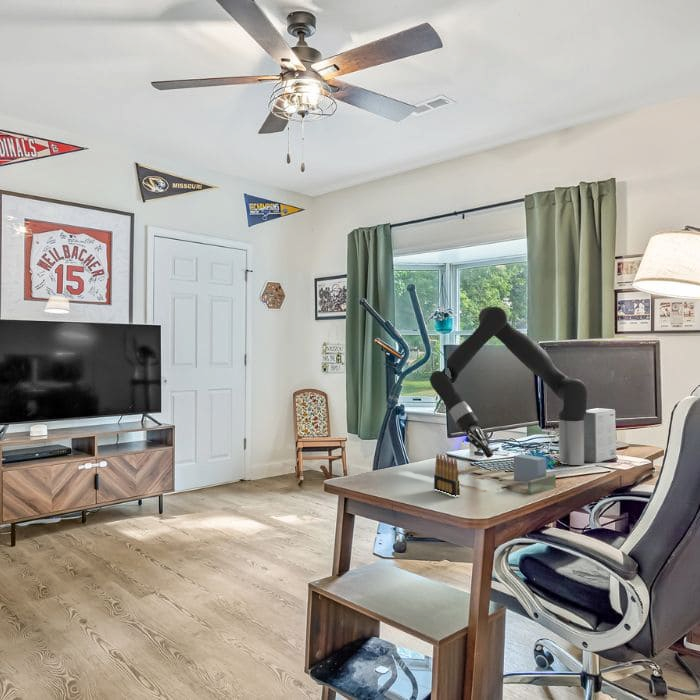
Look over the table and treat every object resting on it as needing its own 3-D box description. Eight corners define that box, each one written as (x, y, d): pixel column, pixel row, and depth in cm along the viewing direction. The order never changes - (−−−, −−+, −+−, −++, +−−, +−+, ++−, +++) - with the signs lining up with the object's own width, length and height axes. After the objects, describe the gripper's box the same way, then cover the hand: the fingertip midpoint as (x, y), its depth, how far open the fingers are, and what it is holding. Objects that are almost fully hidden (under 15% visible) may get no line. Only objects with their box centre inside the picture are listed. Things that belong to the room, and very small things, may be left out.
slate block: (513, 479, 188) (513, 456, 188) (522, 477, 191) (522, 454, 191) (537, 484, 181) (537, 460, 181) (546, 482, 184) (546, 458, 184)
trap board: (449, 475, 200) (449, 464, 200) (477, 469, 210) (477, 458, 210) (531, 494, 175) (531, 482, 175) (559, 486, 185) (558, 474, 185)
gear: (532, 470, 201) (525, 447, 208) (525, 478, 205) (519, 456, 212) (560, 473, 203) (553, 450, 210) (553, 481, 207) (546, 458, 214)
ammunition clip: (433, 490, 181) (433, 453, 181) (438, 489, 182) (438, 452, 182) (455, 498, 172) (455, 459, 172) (460, 497, 173) (459, 458, 172)
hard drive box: (599, 455, 234) (598, 407, 234) (616, 458, 228) (616, 409, 228) (577, 460, 225) (577, 410, 225) (595, 463, 219) (595, 412, 219)
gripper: (462, 411, 201) (490, 452, 193) (479, 410, 211) (506, 449, 203) (448, 423, 204) (474, 464, 196) (465, 422, 214) (491, 460, 207)
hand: (490, 456), depth 200 cm, fingers closed
